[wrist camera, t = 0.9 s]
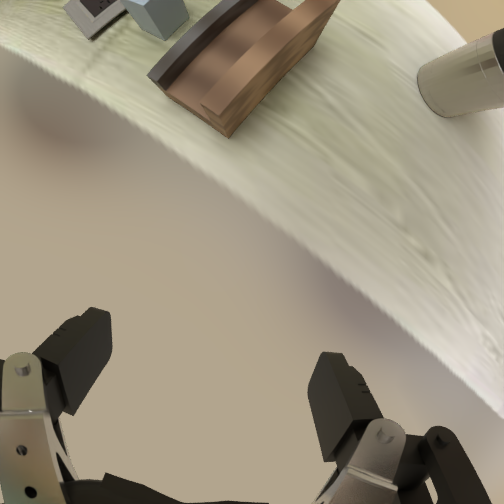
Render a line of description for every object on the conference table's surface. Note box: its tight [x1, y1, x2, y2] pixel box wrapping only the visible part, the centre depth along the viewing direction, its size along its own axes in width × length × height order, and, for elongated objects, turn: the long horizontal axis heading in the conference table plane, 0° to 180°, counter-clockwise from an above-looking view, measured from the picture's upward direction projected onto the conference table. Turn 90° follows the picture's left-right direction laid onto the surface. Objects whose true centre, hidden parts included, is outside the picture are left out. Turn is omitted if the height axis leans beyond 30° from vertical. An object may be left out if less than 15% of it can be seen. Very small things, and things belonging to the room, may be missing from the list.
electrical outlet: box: [63, 0, 126, 40], centre depth 24 cm, size 13×10×2 cm
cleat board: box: [147, 0, 340, 139], centre depth 24 cm, size 18×10×13 cm, turn 142°
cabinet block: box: [120, 0, 189, 41], centre depth 23 cm, size 5×6×10 cm
